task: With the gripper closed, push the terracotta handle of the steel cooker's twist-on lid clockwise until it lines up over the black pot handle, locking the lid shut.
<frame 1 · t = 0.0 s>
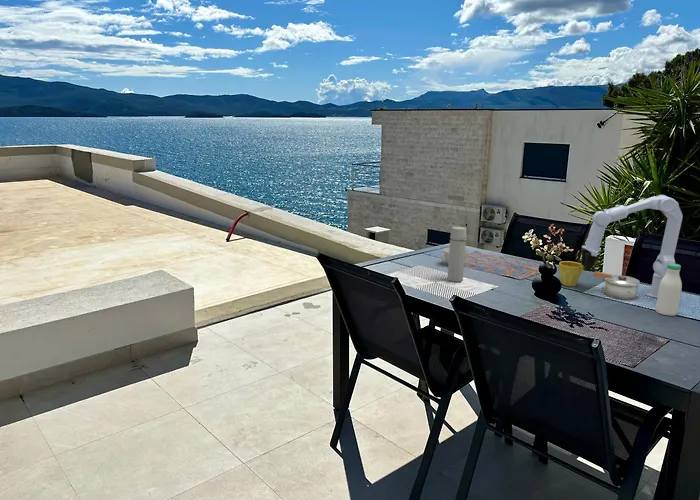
hand: (585, 267, 242), 11 cm above the table, tool pointing down, fingers open, 7 cm apart
plant pot: (568, 284, 253), on the table
cooker pot: (619, 295, 239), on the table
teacup: (452, 265, 281), on the table
water bottle: (456, 280, 255), on the table
milk bottle: (666, 313, 218), on the table
cooker lid: (616, 278, 239), point 7 cm above the table, hinge at 35.0°
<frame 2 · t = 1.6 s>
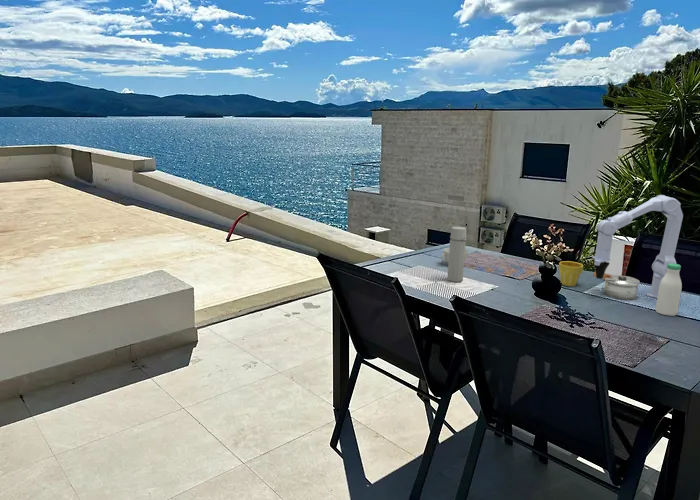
hand: (599, 278, 238), 7 cm above the table, tool pointing down, fingers closed
nothing on the table moved.
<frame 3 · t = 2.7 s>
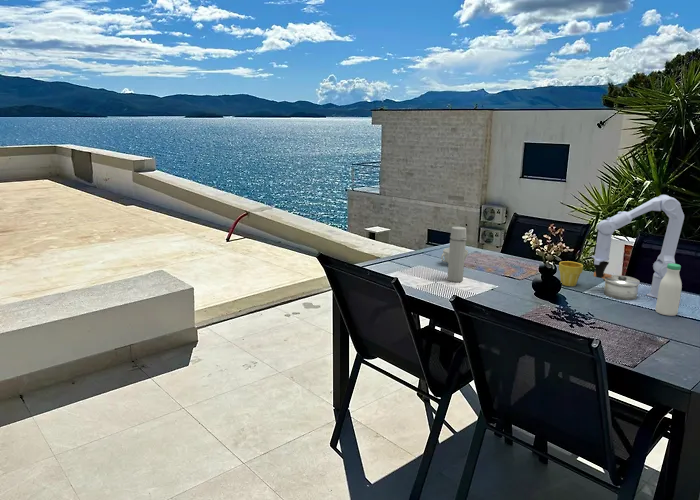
hand: (599, 277, 242), 6 cm above the table, tool pointing down, fingers closed
cooker lid: (616, 278, 239), point 7 cm above the table, hinge at 35.0°, touching gripper
everything else where it was.
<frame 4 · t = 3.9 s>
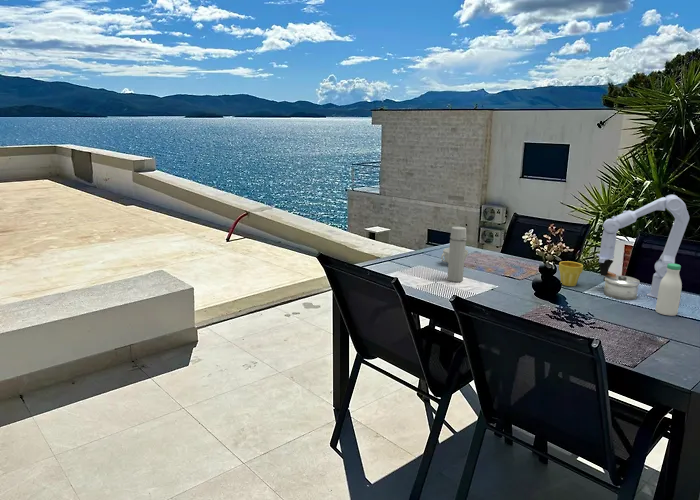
hand: (603, 275, 245), 7 cm above the table, tool pointing down, fingers closed, pressing on cooker lid
cooker lid: (617, 277, 240), point 7 cm above the table, hinge at 7.0°, touching gripper
everything else where it was.
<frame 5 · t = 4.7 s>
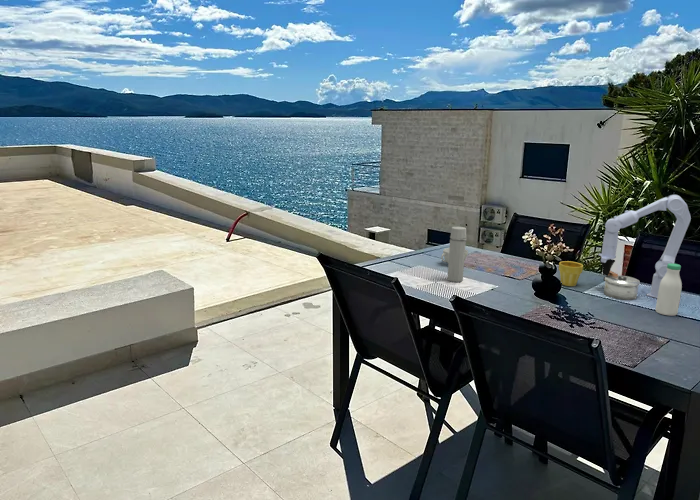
hand: (605, 275, 246), 6 cm above the table, tool pointing down, fingers closed, pressing on cooker lid
cooker lid: (618, 277, 240), point 7 cm above the table, hinge at -2.5°, touching gripper
everything else where it was.
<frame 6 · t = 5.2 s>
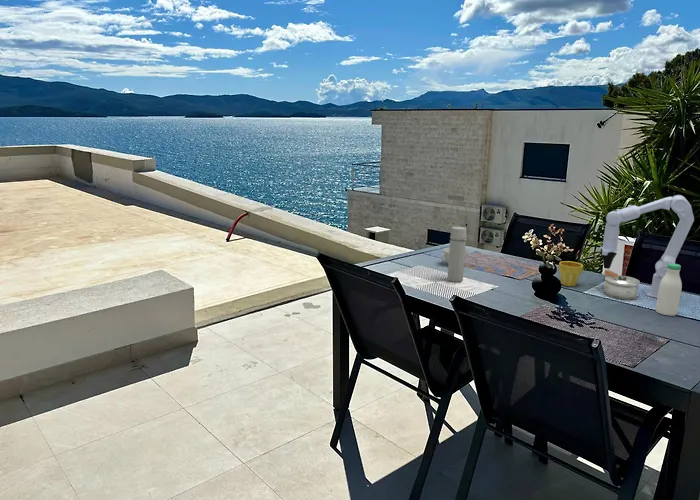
hand: (606, 268, 245), 10 cm above the table, tool pointing down, fingers closed
cooker lid: (618, 277, 240), point 7 cm above the table, hinge at -1.9°
everything else where it was.
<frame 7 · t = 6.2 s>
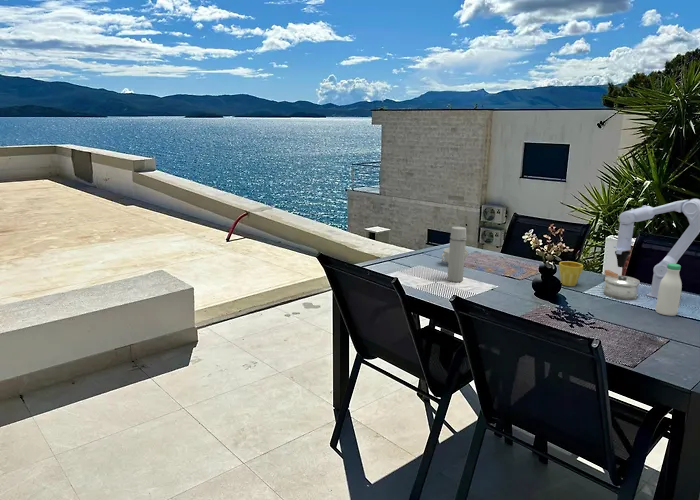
hand: (620, 266, 247), 10 cm above the table, tool pointing down, fingers closed
nothing on the table moved.
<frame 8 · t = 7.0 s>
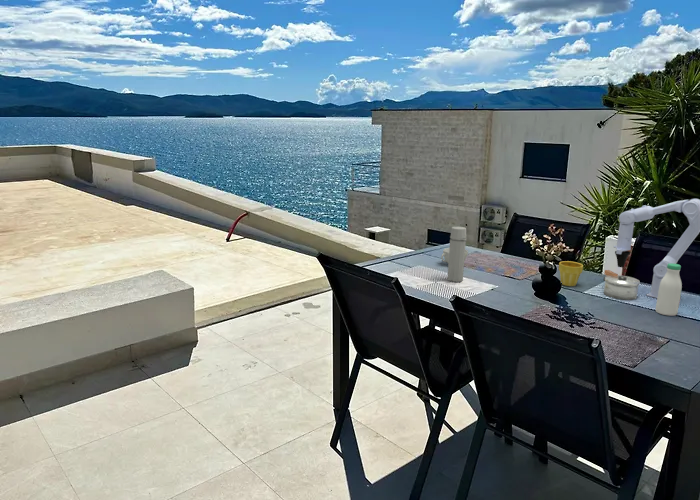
hand: (620, 266, 247), 10 cm above the table, tool pointing down, fingers closed
nothing on the table moved.
at the end: cooker lid at -2° (first picture: +35°); plant pot moved 0.2 cm from its start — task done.
